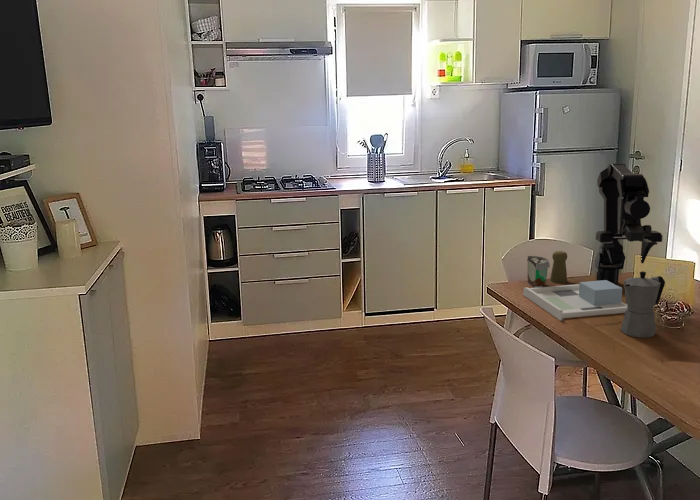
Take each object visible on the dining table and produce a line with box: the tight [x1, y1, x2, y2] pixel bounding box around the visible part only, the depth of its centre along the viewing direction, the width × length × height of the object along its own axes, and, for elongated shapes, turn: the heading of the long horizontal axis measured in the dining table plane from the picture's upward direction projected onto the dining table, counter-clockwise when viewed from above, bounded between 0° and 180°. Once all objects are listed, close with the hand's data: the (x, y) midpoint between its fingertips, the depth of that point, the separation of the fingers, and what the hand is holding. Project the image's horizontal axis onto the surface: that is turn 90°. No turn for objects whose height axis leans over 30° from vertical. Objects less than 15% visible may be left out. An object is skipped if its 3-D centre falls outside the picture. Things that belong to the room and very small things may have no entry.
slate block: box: [578, 280, 623, 305], centre depth 208 cm, size 10×10×5 cm
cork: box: [549, 250, 568, 284], centre depth 232 cm, size 6×6×11 cm
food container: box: [526, 255, 550, 288], centre depth 226 cm, size 12×6×10 cm, turn 179°
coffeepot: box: [620, 270, 666, 339], centre depth 180 cm, size 15×9×18 cm, turn 115°
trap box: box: [522, 283, 628, 322], centre depth 207 cm, size 26×26×3 cm
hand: (627, 263), depth 203 cm, fingers open, 9 cm apart
